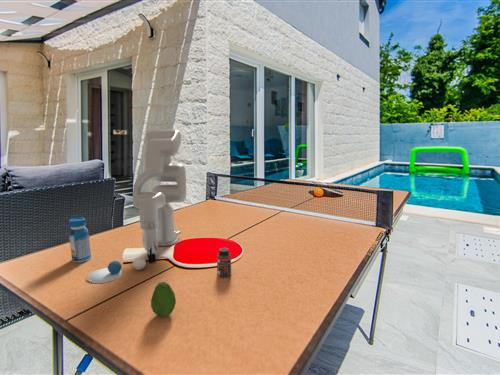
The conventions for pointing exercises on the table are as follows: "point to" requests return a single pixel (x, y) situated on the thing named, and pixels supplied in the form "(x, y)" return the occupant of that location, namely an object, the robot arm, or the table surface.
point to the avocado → (163, 300)
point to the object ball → (114, 267)
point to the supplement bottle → (224, 263)
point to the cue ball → (139, 263)
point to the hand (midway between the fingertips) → (152, 262)
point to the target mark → (103, 276)
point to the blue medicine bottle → (79, 240)
